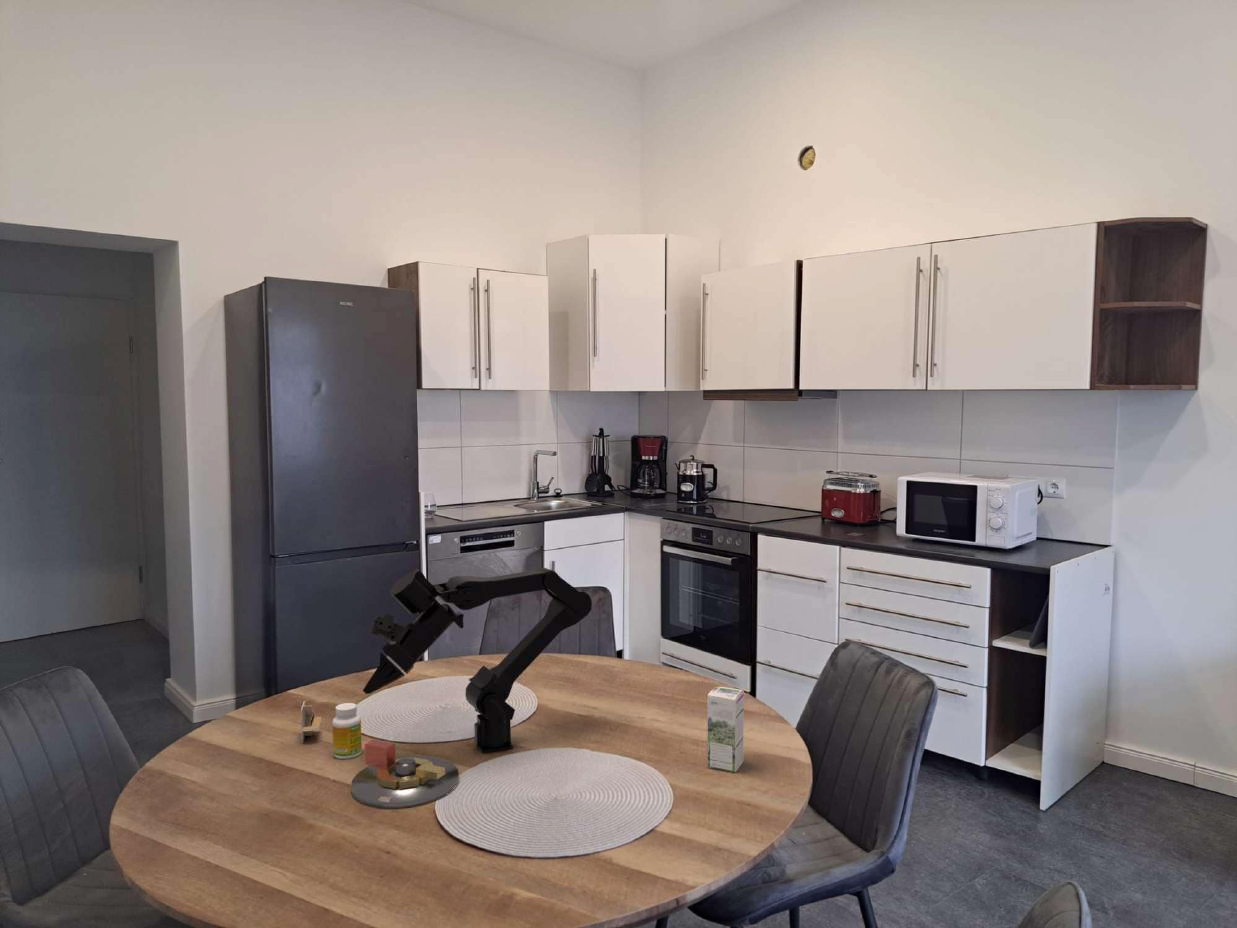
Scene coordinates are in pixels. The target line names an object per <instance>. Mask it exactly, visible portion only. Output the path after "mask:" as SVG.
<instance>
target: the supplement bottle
mask: <svg viewBox="0 0 1237 928" xmlns="http://www.w3.org/2000/svg"><path fill="white" fill-rule="evenodd" d="M357 711H358V706H357V704H355V702H354V703H352V702H345V703H340V704H338V705H336V706H335V715H336V716H335V717H334V718H333V719H332V723H331V725H332V726H331V727H332V751H333V756H334V757H335V758H336V759H340V760H346V759H347V760H348V759H352V758H357V757H358V756H359V755H361V753H362V749H363V748H362V745H363V744H362V719H361V716H360V715H359V714H357V713H358V712H357Z"/></svg>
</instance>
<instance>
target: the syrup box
mask: <svg viewBox="0 0 1237 928" xmlns="http://www.w3.org/2000/svg"><path fill="white" fill-rule="evenodd" d="M706 698H707V702H706V703H707V707H706V708H707V726H706V727H707V728H706V729H707V735H706V737H707V744H706V745H707V751H706V752H707V763H706V764H707V765H706V766H707V768H709V769H715V770H719V771H720V770H721V771H726V772H731V773H736V772H737V771H738V770H739V769H740V767H741V766H742V764H743V763H744V758H745V757H744V756H745V755H744V717H745V716H744V714H745V713H744V712H745V711H744V709H745V703H744V702H745V692H744V689H739V688H731V687H726V686H718V685H716V686H715V687H713V688H712V689H711V690H710V691H709V693H708V694H707V697H706Z"/></svg>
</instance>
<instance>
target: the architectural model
mask: <svg viewBox="0 0 1237 928" xmlns="http://www.w3.org/2000/svg"><path fill="white" fill-rule="evenodd" d="M313 709H314V708H313V706H312V705H306V700H303V703H302V706H301V707H300V728H301V729H300V731H301V733H300V734H301V737H300V738H301V744H303V743H304V741H303V740H305V737H310V736H313V735H314V732H316V731H319V729H320V725H321V721H322V716H315V710H313Z"/></svg>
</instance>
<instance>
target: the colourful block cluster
mask: <svg viewBox="0 0 1237 928" xmlns="http://www.w3.org/2000/svg"><path fill="white" fill-rule="evenodd" d="M395 758H396V743H394V742H389V741H383V740H377V739H372V740H370V741H368V742H366V743H365V744H364V762H365V764H364V765H365V766H368V767H369V766H374V767H379V768H378V769H377V770H376V777H377V781H378V784H380V786H384V787H389V788H393V789H397V788H398V787H399V789H403V788H409V787H415V786H419V784H422V785H423V784H424V783H426V782H427V781H428V780H430V779H431V778H432V779H439V778H440V777H442V776H443V775H444V774H445V768H444V767H439V766H434V765H433V764H432V762H430V760H425V759H420V758H413V759H414V760H415V762H416V775H412V776H406V777H397V776H392V775H390V774H392V773H393V772H395V763H396V762H397V761H398V760H401V759H398V760H395ZM404 759H407V758H404ZM409 759H412V758H409Z"/></svg>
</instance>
